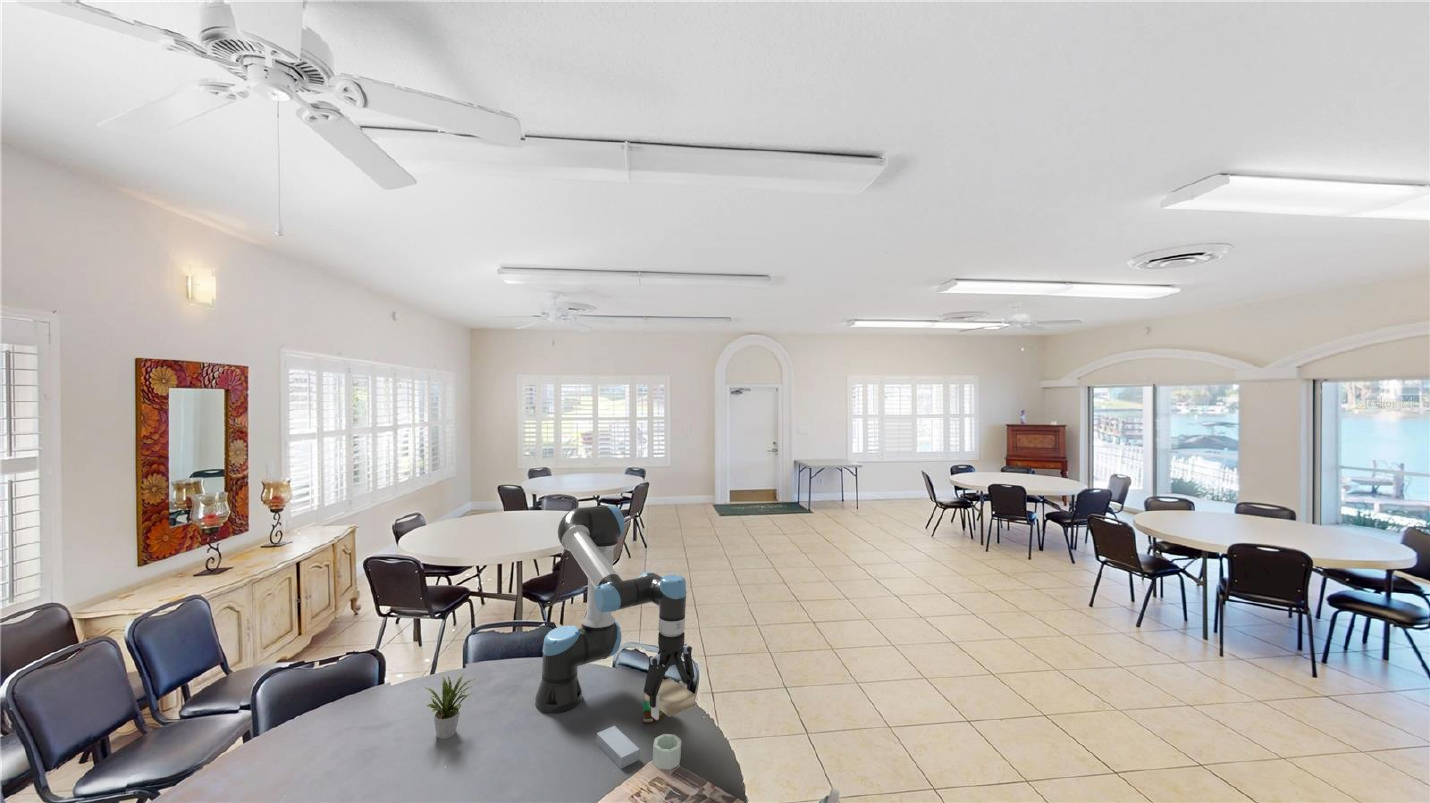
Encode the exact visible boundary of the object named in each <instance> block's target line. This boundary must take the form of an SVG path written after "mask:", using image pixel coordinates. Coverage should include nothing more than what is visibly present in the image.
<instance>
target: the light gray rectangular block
mask: <svg viewBox="0 0 1430 803" xmlns="http://www.w3.org/2000/svg"><path fill="white" fill-rule="evenodd" d="M596 745H597V746H598V747H599V748H600V749H601V750H602V751H603V752H604V753H605V754H606V755H607V756H608V757H609V758H610V759H611V761H613V762H614V763H615V764H616V765H617V766H618V768H620V770H622V769H623V768H626V767H627V766H630V765H632V764H634V763H636V762H638V761H640V750H641V749H640V748H639V747H638V746H637V745H636V744H635V743H634V742H632V741H631V740H630V739H629V737H627V736H626V734H624V733H623V732H622V731H621V730H620V729H619V728H618V727H617V726H616V725H613V726H611V727H608V728H606V729H603V730H601V731H599V732H597V733H596Z"/></svg>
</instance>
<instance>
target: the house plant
mask: <svg viewBox="0 0 1430 803" xmlns="http://www.w3.org/2000/svg"><path fill="white" fill-rule="evenodd" d="M464 675H465V673H462V674H461V675H460V677H459V678H458V679H457V682H456V684H455V685H454V687H453V686H452V684H453V683H454V681H451V679H450V676H447V679H446V678H445V677H444V676H443V677H442V691H441V692H442V693H441V694H442V698H441V699H442V700H441V699H440V697H439V695H438V694H437V693H436V692H435V691H434V690H433V689H431V688H428V687H425V690H427V691H429V692H430V693H431V694H432V695H431V697H430V699H431V702H432V703H429V704H426V707H428V708H431V709H432V711H431V712H430V713H431V714H432V713H433V712H435V713H434V714H433V718H434V720H433V721H434V728H435V734H436V738H437V739H440V740H443V739H449V738H452V737H453V736H454V735H456V732H457V727H458V723H459V718H460V714H461V707H462V704H461V703H462V702H463V701H465V699H466V698H467V697H470V695H473V694H474V692H473V693H468V694H464V693H466V692H465V691H466V690H468V689H470V688H471V689H472V686H469V687H466V688H465V689H463V688H464V687H465V686H466V685H467V684H469V683H470V682H473V681H474V680H475V681H476V678H473V679H469V680H468V681H465V682H464V683H463V684H462V685H461V686H460V684H461V682H462V680H463V676H464ZM447 680H448V682H447ZM459 686H460V687H459ZM462 689H463V690H462ZM459 693H460V694H459ZM458 695H459V696H458ZM457 696H458V697H457ZM434 698H435V699H434ZM460 699H461V700H460ZM436 700H437V701H436ZM459 700H460V701H459ZM457 702H458V704H456V703H457Z"/></svg>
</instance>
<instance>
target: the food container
mask: <svg viewBox="0 0 1430 803" xmlns="http://www.w3.org/2000/svg"><path fill="white" fill-rule="evenodd" d="M663 680H665V679H664V678H663ZM644 696H645V693H644V692H643V696H642V702H643V704H642V705H643V713H642V714H643V715H642V716H643V717H642V718H643V719H642V720H643V722H642V723H643V724H644V725H653V724H656V723H658V722H660V721H661V720H662V719H663V717H664V714H665V713H664V712H662V711H661V710H660V709H659V719H658V720H656V719H654V718H653V717H652V716H651V706H650V702H649V701H648V700H647V699H645V698H644Z"/></svg>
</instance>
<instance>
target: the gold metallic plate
mask: <svg viewBox="0 0 1430 803" xmlns="http://www.w3.org/2000/svg"><path fill="white" fill-rule="evenodd" d="M658 695H660V698H659V709H660V710H661V711H662V712H664V713H663V714H665V715H666V716H667V717H668V718H670V717H672V716H674V715H676V714H679V713H681V712H683V711H686V710H687V709H690V708H692V707H694V706H696V705H695V704H696V703H695V702H696V694H695V693H693V692H692V691H691V690H689V688H688V689H686V688H684V687H683V686H682V685H680V684H679V682H677V681H676V680H674V679H673V678H671V677H668V678H665V679H664V680H663V681H662V683H661V686H660V688H659V691H658ZM644 698H645V699H647V700H648V701H649V702H650V696H648V695H647V694H645V696H644Z"/></svg>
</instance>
